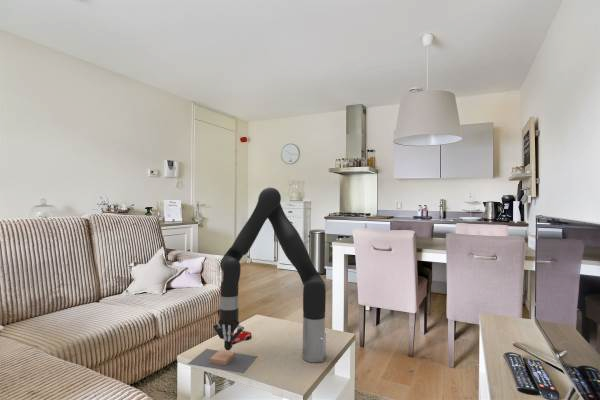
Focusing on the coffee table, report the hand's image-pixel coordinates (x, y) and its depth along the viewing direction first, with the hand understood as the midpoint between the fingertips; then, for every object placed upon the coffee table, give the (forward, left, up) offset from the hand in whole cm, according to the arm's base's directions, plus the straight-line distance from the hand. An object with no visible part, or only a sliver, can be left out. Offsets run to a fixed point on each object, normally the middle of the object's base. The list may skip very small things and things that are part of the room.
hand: (228, 349), depth 131 cm
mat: (+2, 0, -5) cm, 6 cm away
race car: (+5, -20, -6) cm, 21 cm away
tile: (-1, 0, -4) cm, 4 cm away
